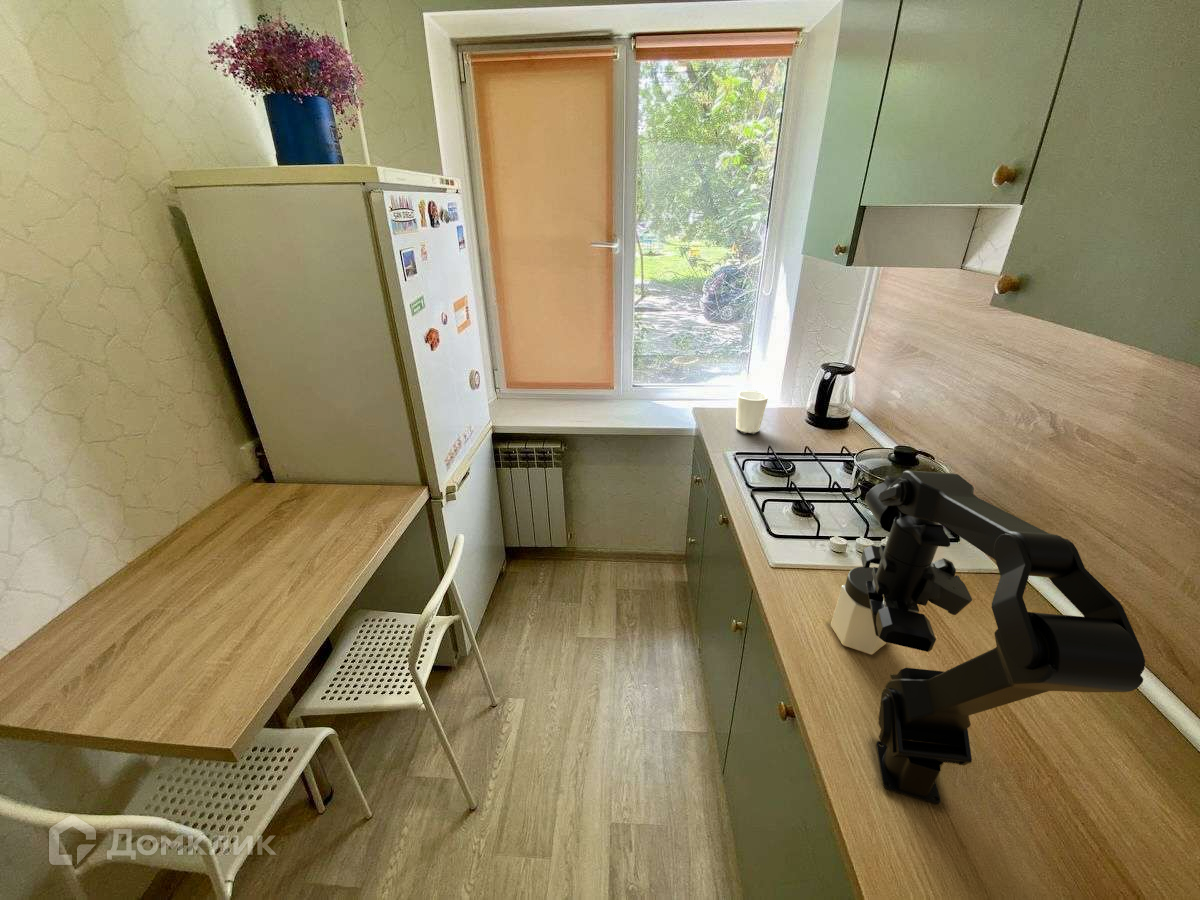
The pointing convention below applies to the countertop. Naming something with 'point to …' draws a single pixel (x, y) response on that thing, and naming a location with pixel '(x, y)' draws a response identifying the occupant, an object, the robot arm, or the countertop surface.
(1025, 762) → the countertop surface
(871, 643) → the jar
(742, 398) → the cup
